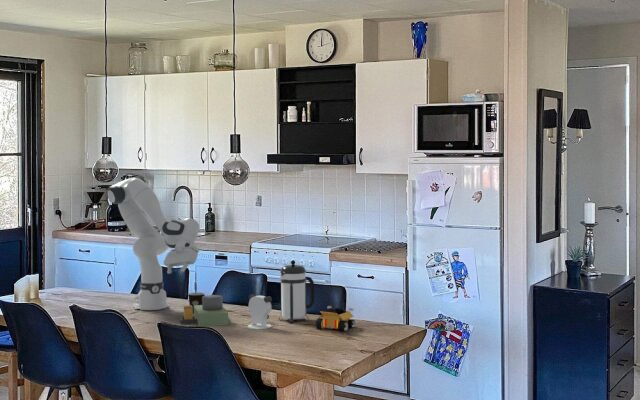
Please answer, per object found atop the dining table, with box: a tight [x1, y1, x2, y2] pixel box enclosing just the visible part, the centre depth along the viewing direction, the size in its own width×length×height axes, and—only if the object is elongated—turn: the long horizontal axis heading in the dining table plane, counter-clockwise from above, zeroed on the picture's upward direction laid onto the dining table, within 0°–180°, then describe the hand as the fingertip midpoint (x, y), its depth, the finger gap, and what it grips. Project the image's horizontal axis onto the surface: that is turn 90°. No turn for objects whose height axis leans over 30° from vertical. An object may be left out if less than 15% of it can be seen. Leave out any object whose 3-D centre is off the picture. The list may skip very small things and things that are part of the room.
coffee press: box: [278, 259, 315, 324], centre depth 416 cm, size 17×16×30 cm
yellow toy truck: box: [315, 305, 356, 333], centre depth 396 cm, size 15×15×11 cm
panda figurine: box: [247, 293, 273, 330], centre depth 401 cm, size 12×11×15 cm
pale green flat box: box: [179, 294, 229, 327], centre depth 415 cm, size 24×22×12 cm
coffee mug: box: [187, 291, 206, 315], centre depth 437 cm, size 12×9×10 cm
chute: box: [183, 304, 194, 320], centre depth 413 cm, size 4×4×8 cm
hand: (175, 272), depth 418 cm, fingers open, 8 cm apart
